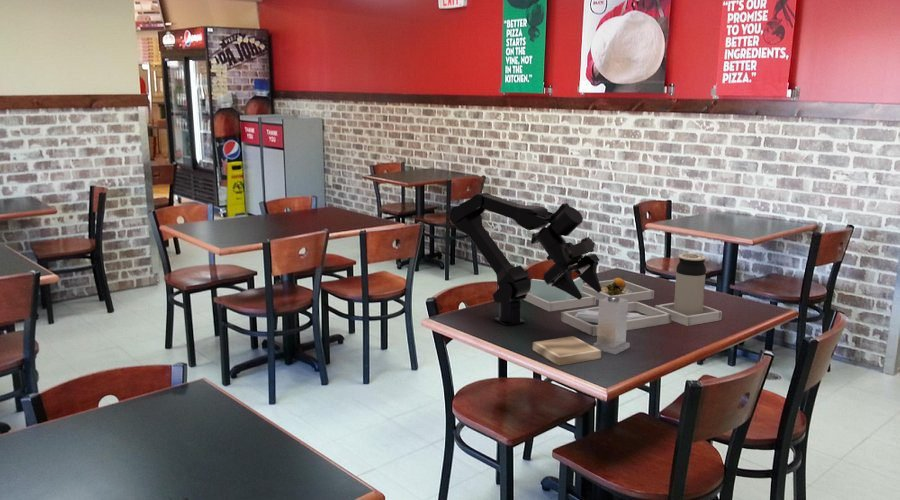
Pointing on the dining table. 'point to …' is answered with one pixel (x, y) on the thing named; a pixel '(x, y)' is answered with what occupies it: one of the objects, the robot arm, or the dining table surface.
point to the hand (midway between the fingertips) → (590, 295)
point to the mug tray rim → (705, 317)
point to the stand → (566, 350)
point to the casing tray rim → (655, 319)
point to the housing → (612, 325)
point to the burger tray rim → (638, 294)
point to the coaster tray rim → (561, 302)
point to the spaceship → (593, 316)
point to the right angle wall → (552, 290)
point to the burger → (616, 288)
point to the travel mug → (690, 284)
